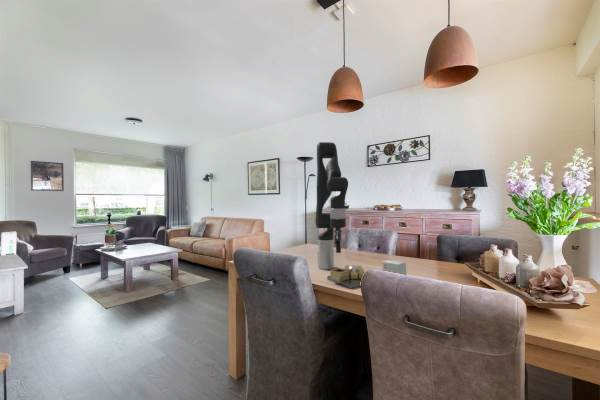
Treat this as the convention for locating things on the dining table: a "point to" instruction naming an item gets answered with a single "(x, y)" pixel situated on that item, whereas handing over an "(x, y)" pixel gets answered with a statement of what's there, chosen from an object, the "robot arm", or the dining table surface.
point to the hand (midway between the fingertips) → (338, 252)
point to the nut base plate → (348, 280)
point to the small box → (394, 266)
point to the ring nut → (346, 273)
